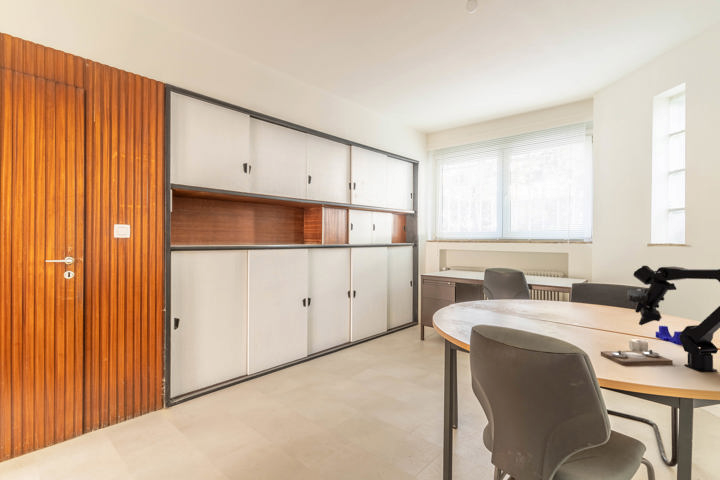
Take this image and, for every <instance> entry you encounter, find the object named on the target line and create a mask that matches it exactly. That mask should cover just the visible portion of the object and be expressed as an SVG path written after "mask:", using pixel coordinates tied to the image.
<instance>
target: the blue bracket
mask: <svg viewBox="0 0 720 480" xmlns="http://www.w3.org/2000/svg"><path fill="white" fill-rule="evenodd" d="M680 332H681V331H676V330H675V331H674V332H673V336H672V335H671V333H670V331H669V326H667V325H658V331H655V338H657V339H660V340H661V341H666V342H667V341H668V342H670V343H672V344H674V345H679V346H680V345H681V346H682V343H681V341H680V338H679V336H680V334H682V333H680Z"/></svg>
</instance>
